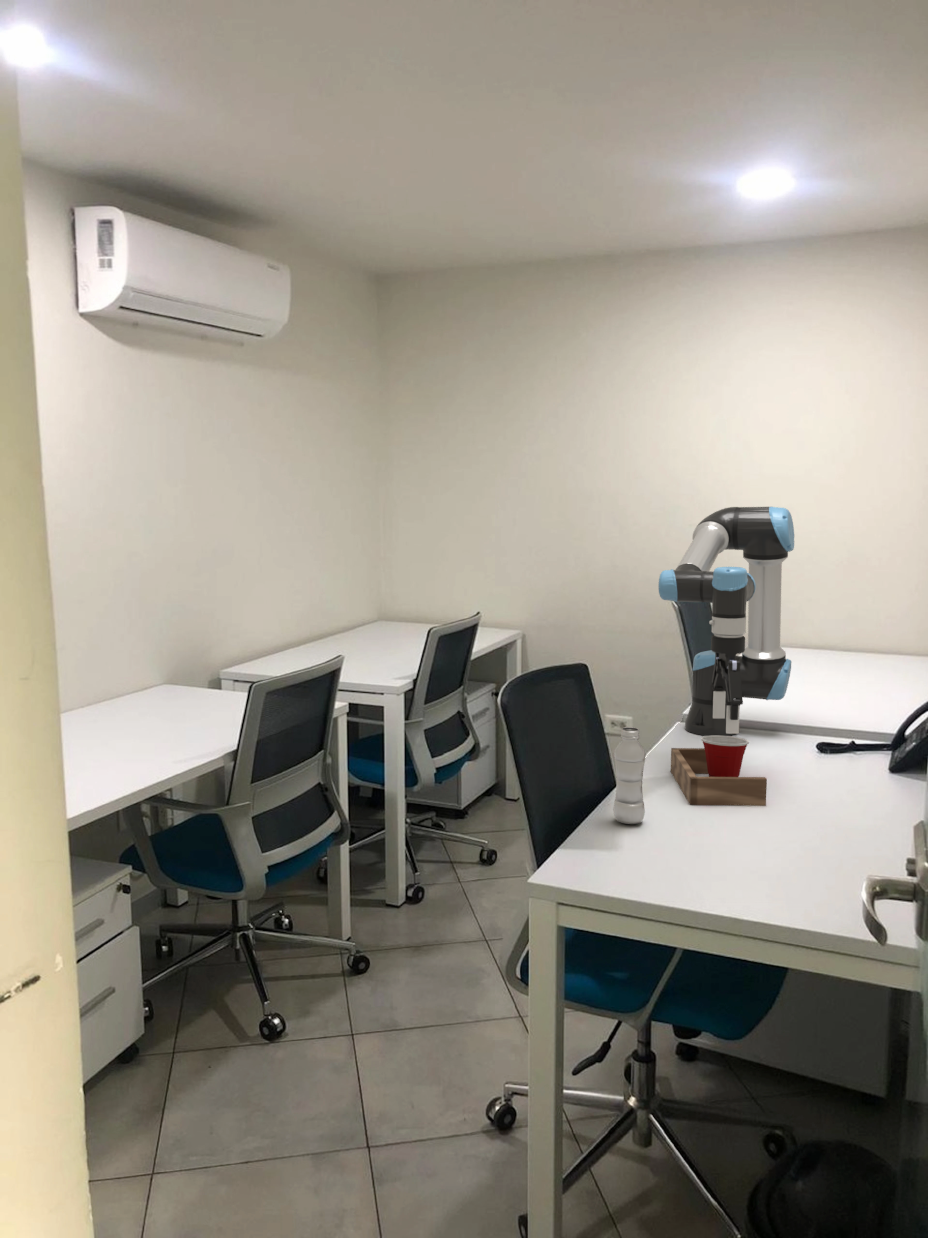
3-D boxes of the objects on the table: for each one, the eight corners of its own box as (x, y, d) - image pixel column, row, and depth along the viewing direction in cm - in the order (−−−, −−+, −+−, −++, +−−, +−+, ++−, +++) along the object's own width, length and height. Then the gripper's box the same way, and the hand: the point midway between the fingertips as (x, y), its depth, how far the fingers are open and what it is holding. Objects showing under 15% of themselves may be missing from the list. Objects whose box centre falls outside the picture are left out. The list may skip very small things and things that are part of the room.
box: (670, 771, 235) (671, 748, 234) (738, 772, 234) (738, 748, 233) (690, 805, 210) (690, 778, 209) (765, 805, 209) (766, 779, 208)
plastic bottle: (626, 830, 195) (627, 734, 192) (606, 820, 201) (608, 727, 198) (651, 824, 198) (653, 731, 195) (631, 815, 204) (633, 724, 201)
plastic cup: (750, 784, 224) (752, 734, 223) (743, 797, 215) (745, 746, 213) (704, 778, 229) (705, 730, 227) (695, 791, 219) (696, 741, 218)
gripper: (700, 626, 229) (698, 712, 232) (724, 644, 205) (721, 739, 208) (731, 626, 229) (729, 712, 232) (759, 644, 204) (755, 740, 207)
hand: (725, 725), depth 220 cm, fingers open, 13 cm apart
